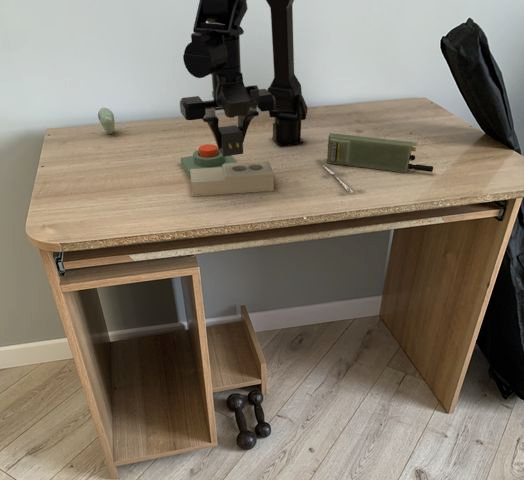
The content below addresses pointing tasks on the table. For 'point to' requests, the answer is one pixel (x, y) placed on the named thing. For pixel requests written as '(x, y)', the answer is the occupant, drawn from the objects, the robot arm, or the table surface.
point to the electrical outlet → (232, 178)
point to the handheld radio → (373, 153)
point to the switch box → (204, 161)
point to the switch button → (208, 151)
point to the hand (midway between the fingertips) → (230, 147)
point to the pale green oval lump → (106, 119)
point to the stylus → (341, 182)
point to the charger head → (231, 140)
